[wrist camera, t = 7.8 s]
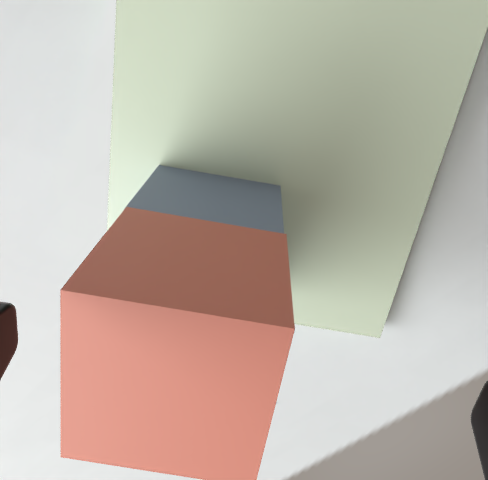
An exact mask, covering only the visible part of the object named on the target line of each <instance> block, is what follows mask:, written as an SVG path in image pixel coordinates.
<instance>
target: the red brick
mask: <svg viewBox="0 0 488 480" xmlns="http://www.w3.org/2000/svg"><path fill="white" fill-rule="evenodd" d="M294 330H295V326H294V314H293V303H292V291H291V280H290V269H289V257H288V246H287V234H283V233H277V232H271V231H266V230H260V229H254V228H248V227H242V226H236V225H230V224H224V223H219V222H213V221H207V220H201V219H195V218H189V217H183V216H178V215H172V214H166V213H160V212H154V211H148V210H142V209H137V208H131V207H126V208H125V209H124V210H123V212H122V213H121V214H120V216H119V217H118V218H117V219H116V221H115V222H114V223H113V224H112V226H111V227H110V228H109V229H108V231H107V232H106V233H105V234H104V236H103V237H102V238H101V240H100V241H99V242H98V243H97V245H96V246H95V247H94V248H93V250H92V251H91V252H90V253H89V255H88V256H87V257H86V258H85V260H84V261H83V262H82V264H81V265H80V266H79V267H78V269H77V270H76V271H75V272H74V274H73V275H72V276H71V277H70V279H69V280H68V281H67V282H66V284H65V285H64V286H63V288H62V289H61V457H63V458H70V459H76V460H82V461H89V462H95V463H101V464H108V465H114V466H121V467H127V468H133V469H140V470H146V471H152V472H159V473H165V474H172V475H178V476H184V477H191V478H197V479H203V480H256V479H257V475H258V471H259V467H260V463H261V459H262V455H263V452H264V448H265V444H266V440H267V436H268V432H269V428H270V424H271V420H272V416H273V412H274V408H275V404H276V401H277V397H278V393H279V389H280V385H281V381H282V377H283V373H284V369H285V365H286V361H287V357H288V353H289V349H290V346H291V342H292V338H293V334H294Z"/></svg>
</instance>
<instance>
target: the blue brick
mask: <svg viewBox="0 0 488 480" xmlns="http://www.w3.org/2000/svg"><path fill="white" fill-rule="evenodd" d="M126 207H131V208H137V209H142V210H148V211H154V212H160V213H166V214H172V215H178V216H183V217H189V218H195V219H201V220H207V221H213V222H219V223H224V224H230V225H236V226H242V227H248V228H254V229H260V230H266V231H271V232H277V233H283V234H284V225H283V211H282V198H281V186H280V185H274V184H268V183H262V182H256V181H251V180H245V179H239V178H233V177H227V176H221V175H215V174H209V173H204V172H198V171H192V170H186V169H180V168H174V167H168V166H162V165H159V166H158V167H157V168H156V169H155V171H154V172H153V173H152V174H151V176H150V177H149V178H148V179H147V181H146V182H145V183H144V184H143V186H142V187H141V188H140V189H139V191H138V192H137V193H136V195H135V196H134V197H133V198H132V200H131V201H130V202H129V203H128V205H127V206H126ZM126 207H125V208H126ZM125 208H124V209H125Z"/></svg>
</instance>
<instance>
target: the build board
mask: <svg viewBox="0 0 488 480" xmlns="http://www.w3.org/2000/svg"><path fill="white" fill-rule="evenodd" d="M487 28H488V0H116V24H115V48H114V72H113V97H112V121H111V145H110V169H109V193H108V218H107V231H108V229H109V228H110V227H111V226H112V224H113V223H114V222H115V221H116V219H117V218H118V217H119V216H120V214H121V213H122V212H123V210H124V208H125V207H126V206H127V205H128V203H129V202H130V201H131V200H132V198H133V197H134V196H135V195H136V193H137V192H138V191H139V189H140V188H141V187H142V186H143V184H144V183H145V182H146V181H147V179H148V178H149V177H150V176H151V174H152V173H153V172H154V171H155V169H156V168H157V167H158V166H159V165H162V166H168V167H174V168H180V169H186V170H192V171H198V172H204V173H209V174H215V175H221V176H227V177H233V178H239V179H245V180H251V181H256V182H262V183H268V184H274V185H280V186H281V198H282V211H283V225H284V234H287V246H288V257H289V269H290V280H291V291H292V303H293V314H294V324H297V325H303V326H310V327H316V328H322V329H328V330H334V331H340V332H346V333H352V334H359V335H365V336H371V337H377V338H380V336H381V333H382V331H383V328H384V325H385V322H386V319H387V316H388V313H389V310H390V308H391V305H392V302H393V299H394V296H395V293H396V290H397V287H398V284H399V282H400V279H401V276H402V273H403V270H404V267H405V264H406V261H407V259H408V256H409V253H410V250H411V247H412V244H413V241H414V238H415V236H416V233H417V230H418V227H419V224H420V221H421V218H422V215H423V213H424V210H425V207H426V204H427V201H428V198H429V195H430V192H431V189H432V187H433V184H434V181H435V178H436V175H437V172H438V169H439V166H440V164H441V161H442V158H443V155H444V152H445V149H446V146H447V143H448V141H449V138H450V135H451V132H452V129H453V126H454V123H455V120H456V118H457V115H458V112H459V109H460V106H461V103H462V100H463V97H464V95H465V92H466V89H467V86H468V83H469V80H470V77H471V74H472V71H473V69H474V66H475V63H476V60H477V57H478V54H479V51H480V48H481V46H482V43H483V40H484V37H485V34H486V31H487Z"/></svg>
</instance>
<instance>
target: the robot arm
mask: <svg viewBox="0 0 488 480" xmlns="http://www.w3.org/2000/svg"><path fill="white" fill-rule="evenodd" d="M17 344H18V331H17V317H16V309H15V306H14V305H13V304H11V303H6V302H0V380H1V378H2V376H3V374H4V372H5V370H6V368H7V366H8V365H9V363H10V361H11V359H12V357H13V355H14V353H15V351H16V348H17ZM471 424H472V429H473V433H474V436H475V441H476V445H477V449H478V453H479V457H480V461H481V465H482V469H483V473H484V477H485V480H488V381H487V382H486V383H485V384H484V386H483V388H482V390H481V393H480V395H479V397H478V399H477V401H476V404H475V405H474V407H473V410H472V414H471Z"/></svg>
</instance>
